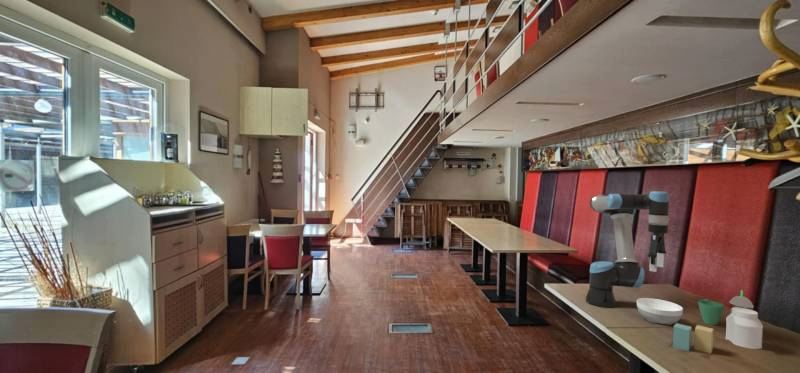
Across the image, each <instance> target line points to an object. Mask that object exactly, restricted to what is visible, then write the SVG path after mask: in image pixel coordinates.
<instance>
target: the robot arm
mask: <svg viewBox="0 0 800 373" xmlns="http://www.w3.org/2000/svg"><path fill="white" fill-rule="evenodd" d="M669 204H670V193H669V192H668V191H662V190H661V191H658V190H657V191H655V190H651V191H649V194H648V193H644V194H639V193H638V194H635V193H634V194H633V193H631V194H630V193H629V194H627V193H609V194H605V193H604V194H603V193H602V194H601V193H600V194H596V195H594V196H592V197H591V199H590V201H589V205H590V208H591V210H593V211H595V213H600V214H607V215H608V214H609V218H611V219H612V221H613V228H614V236H615V237H614V238H615V246H616V247H615V248H616V258H617V260H615V261H614V263H613V262H611V261H605V260H604V261H603V260H601V261H594V262H591V263H590V267H589V287H588V291H587V293H586V295H585V302H586V303H587V304H590V305H592V306H596V307H601V308H614V307H616V306H617V300H616V298H615V295H614V290H613V289H614V288H613V287H624V288H640V287H642V285H643V284H644V281H645V277H646V275H645V273H646V272H645V269H644V267H643V266H640V263H639V261H637V260H636V257H635V256H636V255H635V249H634V248H635V246H634V240H633V232H632V231H633V230H632V223H631V219H632V218H633V217H634V214H636V212H637V210H641V211H642V210H643V211H644V210H645V211H646V210H647V211H648V225H647V227H648V228H647V229H648V230H647V231H648V232H649V233H652V234H653V235H652V234H651V235H650V243H649V249H648V250H649V251H648V254H647V257H648V258H649V265H648V266H649V267H648V268H649V270H648V271H650V272H654V273H656V272H657V271H658V270H657V269H658V268H664V267H665V266H664V264H665V262H664V261H665V254H667V251H666V247H665V246H666V245H665V234H668V232H669V226H668V224H669V221H670V217H669V210H670V206H669ZM657 267H658V268H657Z"/></svg>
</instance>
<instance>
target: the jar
mask: <svg viewBox="0 0 800 373" xmlns="http://www.w3.org/2000/svg"><path fill="white" fill-rule="evenodd" d="M758 317H759V313H758V312H757V311H756V310H754V309H753V310H750V309H746V308H740V307H733V308H732V312H731V314H730V313H729V314H728V315H727V316H726V318H725V319H726V321H725V322H726V326H725V327H726V328H725V340H727V341H729V342H731V343H732V344H733V345H735V346H738V347H741V348H746V349H752V350H760V349H763V329H764V325H763V324H762V322H761V321H760V319H759V318H758Z"/></svg>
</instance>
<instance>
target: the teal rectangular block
mask: <svg viewBox="0 0 800 373" xmlns="http://www.w3.org/2000/svg"><path fill="white" fill-rule="evenodd" d="M692 329H693V328H692V326H690V325H685V324H681V323H678V322H676V323H674V325H673V330H672V331H673V332H672V334H673V335H672V336H673V338H672V341H673V347H675V348H679V349H682V350H686V351H689V350H690V348H691V343H692V331H693V330H692Z"/></svg>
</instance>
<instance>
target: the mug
mask: <svg viewBox="0 0 800 373" xmlns="http://www.w3.org/2000/svg"><path fill="white" fill-rule="evenodd" d="M697 304H698V308H699V312H700V315H701V319H702V320H703V323H705V324H707V325H711V326H716V325H717V324H718V323H719V322H720V320H721V317H722V315H723V313H724V310H725V305H724V304H723V303H720V302H718V301H713V300H709V299H706V298H704V299H699V300H697Z"/></svg>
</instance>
